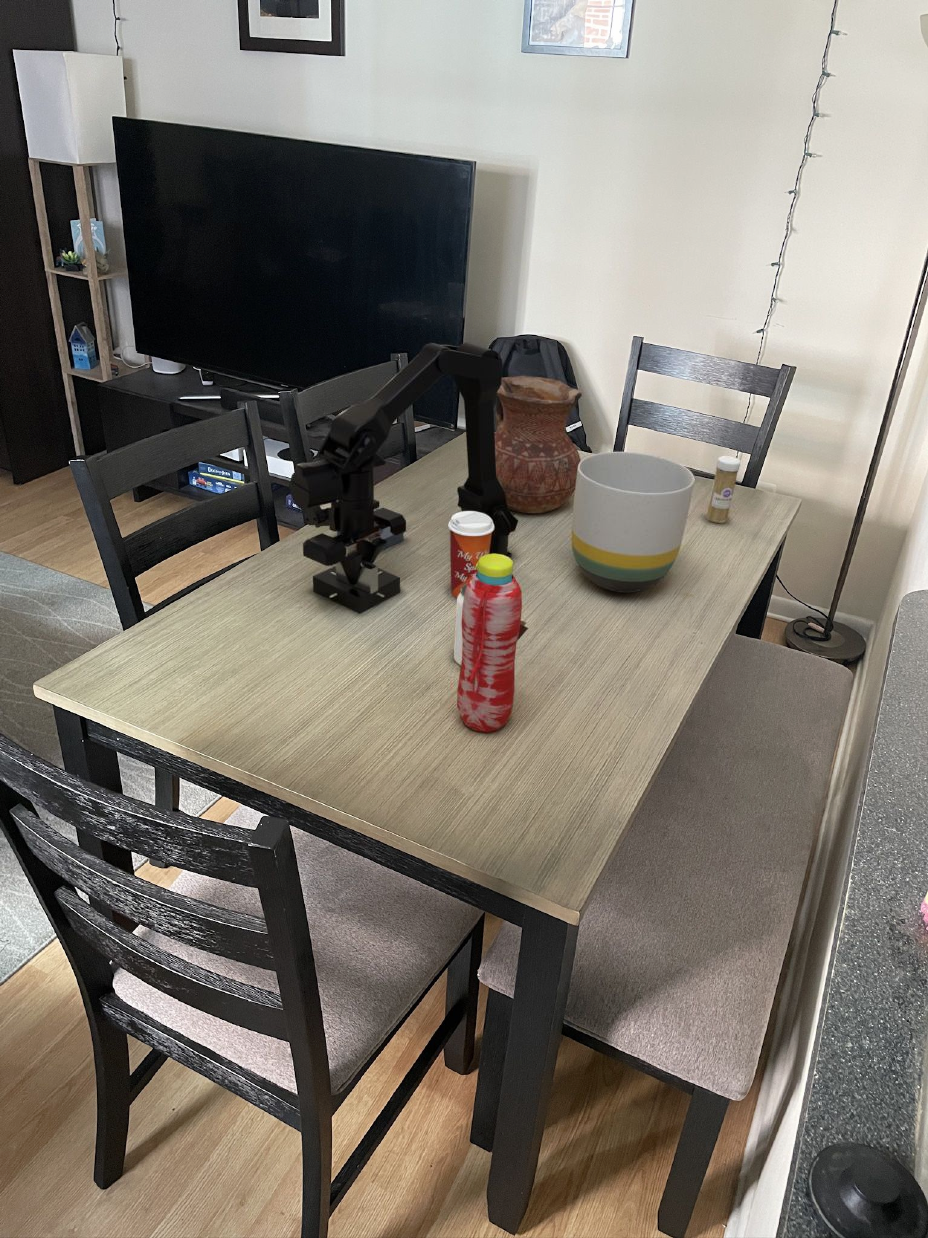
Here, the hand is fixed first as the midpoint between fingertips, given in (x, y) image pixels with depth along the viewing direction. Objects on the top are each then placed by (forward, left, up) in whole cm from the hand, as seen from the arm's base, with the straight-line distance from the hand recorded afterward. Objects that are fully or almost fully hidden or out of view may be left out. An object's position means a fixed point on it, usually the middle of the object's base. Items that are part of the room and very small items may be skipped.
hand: (356, 581), depth 149 cm
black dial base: (+1, 0, -4) cm, 4 cm away
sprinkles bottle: (-30, -77, -4) cm, 83 cm away
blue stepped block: (+15, -19, -4) cm, 24 cm away
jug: (+4, -56, -4) cm, 56 cm away
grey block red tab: (0, 0, 0) cm, 0 cm away
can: (-26, +1, -4) cm, 26 cm away
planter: (-30, -37, -4) cm, 47 cm away
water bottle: (-36, +11, -4) cm, 38 cm away
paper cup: (-12, -15, -4) cm, 20 cm away
